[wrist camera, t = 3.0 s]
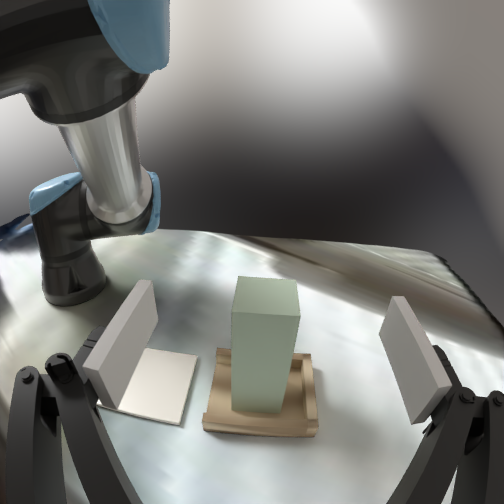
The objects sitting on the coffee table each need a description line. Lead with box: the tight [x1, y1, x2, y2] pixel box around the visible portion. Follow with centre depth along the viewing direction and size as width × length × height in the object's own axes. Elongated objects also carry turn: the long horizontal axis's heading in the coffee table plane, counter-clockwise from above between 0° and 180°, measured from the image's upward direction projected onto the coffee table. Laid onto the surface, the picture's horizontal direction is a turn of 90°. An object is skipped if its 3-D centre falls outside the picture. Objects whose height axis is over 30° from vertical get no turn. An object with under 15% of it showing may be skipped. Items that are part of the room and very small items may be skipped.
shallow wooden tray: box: [202, 348, 318, 437], centre depth 35 cm, size 12×13×2 cm
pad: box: [96, 348, 198, 425], centre depth 36 cm, size 12×12×1 cm
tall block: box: [231, 276, 300, 413], centre depth 31 cm, size 6×6×16 cm
